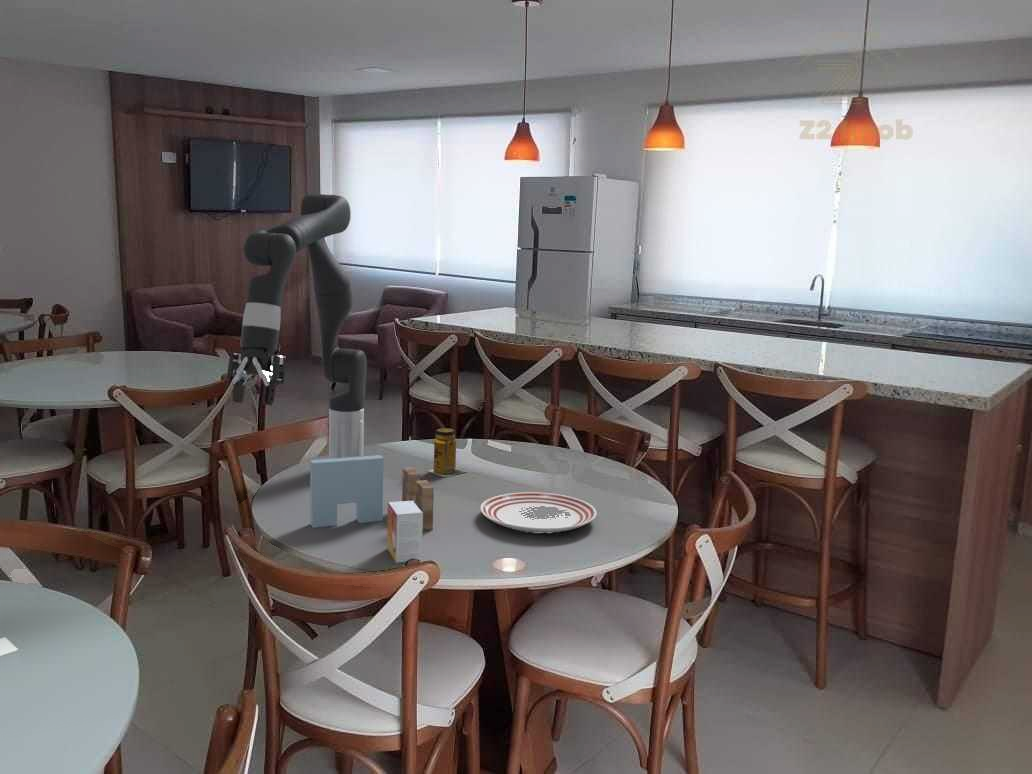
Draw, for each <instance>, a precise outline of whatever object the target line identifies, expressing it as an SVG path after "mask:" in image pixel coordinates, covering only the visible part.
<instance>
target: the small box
mask: <svg viewBox="0 0 1032 774" xmlns="http://www.w3.org/2000/svg"><path fill="white" fill-rule="evenodd" d="M386 527H387V528H386V532H387V533H386V535H387V536H386V549H387V551H388V552H389V554H390V555H391V557H392V559H393V560H394V562H395V563H396V564H398V563H399V564H400V563H405V562H406V561H407V560H408V559H411V558H416V559H418V560H419V561H422V555H423V554H422V552H423V549H422V547H423V531H422V527H423V513H422V511H421V510H420V509H419V508H418V507H417V505H416V504H415V503H414V501H402V500H399V501H389V502H387V526H386ZM406 563H407V562H406Z"/></svg>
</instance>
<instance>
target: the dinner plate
mask: <svg viewBox="0 0 1032 774" xmlns="http://www.w3.org/2000/svg"><path fill="white" fill-rule="evenodd" d="M533 506H534V507H540V506H545V507H556V508H559V509H558V510H567V511H564V512H569V513H570V515H571V516H565V513H562V515H563V516H561V514H559V517H556V516H557V515H555V518H556V519H555V518H547V519H541V518H540V519H534V518H531V519H530V518H529V517H528V518H525V517H527V515H526V516H523V515H525V514H526V513H525V514H522V515H521V513H524V512H527V511H528V510H531V508H530V509H528V510H526V508H529V507H532V508H534V507H533ZM524 507H525V508H524ZM521 508H523V509H521ZM479 509H480V512H481V513H482V514H483V516H484V517H485V518H487V519H488V520H490V521H492V522H493V523H495V524H497V525H499V526H503V527H506V528H508V529H511V528H512V529H511V530H514V529H516V530H515V531H517V530H521V531H520V532H522V531H528V532H543V533H547V532H557V533H561V531H563V532H565V531H571V530H574V529H577V528H581V527H583V526H585V525H588V524H589V523H591V522H592V521H593V520H595V518H596V516H597V510H596V508H595V507H594V506H593V505H592V504H591V503H588V502H586V501H585V500H582V499H579V498H575V497H572V496H568V495H563V494H558V493H551V492H539V491H529V492H528V491H527V492H526V491H524V492H523V491H522V492H511V493H510V492H509V493H505V494H500V495H496V496H493V497H490V498H488V499H486V500H484V501H483V502H482V503H481V504H480V508H479ZM522 510H525V511H522ZM535 510H537V509H535ZM519 511H522V512H519ZM530 512H533V511H530ZM527 513H529V512H527ZM533 514H534V513H533ZM557 514H558V513H557ZM530 515H531V514H530ZM548 515H549V514H548ZM534 516H535V515H534ZM549 517H552V516H549ZM565 517H568V518H565ZM535 518H537V517H535ZM545 518H546V517H545ZM532 519H534V520H532ZM550 519H551V520H550ZM528 532H527V533H528ZM547 534H548V533H547Z"/></svg>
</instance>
